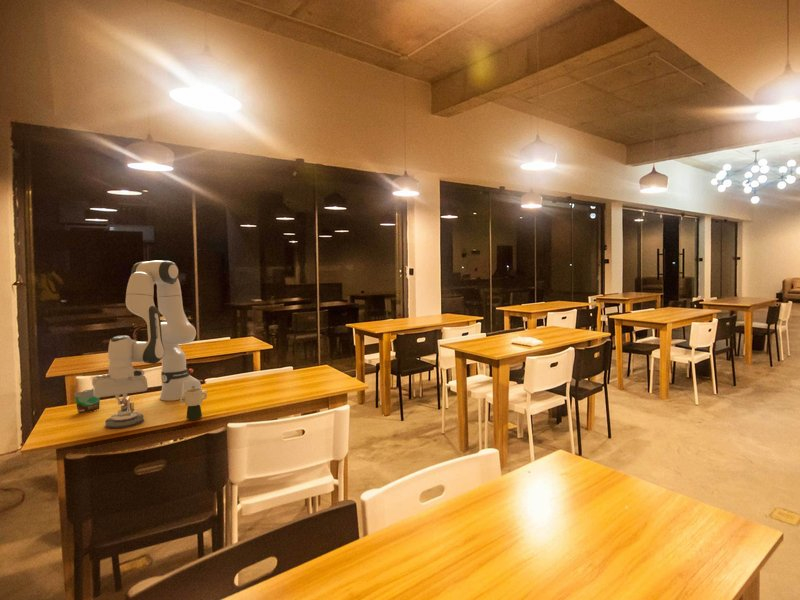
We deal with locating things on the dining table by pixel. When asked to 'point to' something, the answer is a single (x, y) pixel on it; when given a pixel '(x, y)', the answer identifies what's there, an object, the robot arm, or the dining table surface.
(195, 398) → the character mug
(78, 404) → the food container
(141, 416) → the handwheel with crank handle
